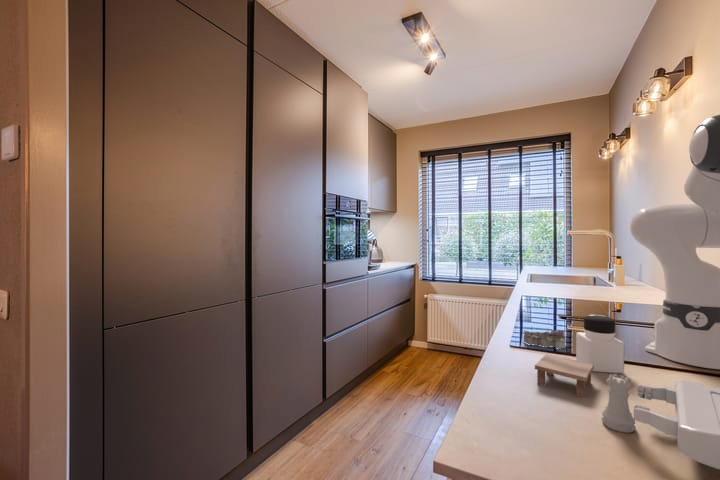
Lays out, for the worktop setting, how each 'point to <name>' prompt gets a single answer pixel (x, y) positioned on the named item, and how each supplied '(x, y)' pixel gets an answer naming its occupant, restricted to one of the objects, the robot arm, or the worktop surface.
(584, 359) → the medicine bottle
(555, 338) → the mossy rock
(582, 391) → the footstool
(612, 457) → the worktop surface
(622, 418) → the rook chess piece
